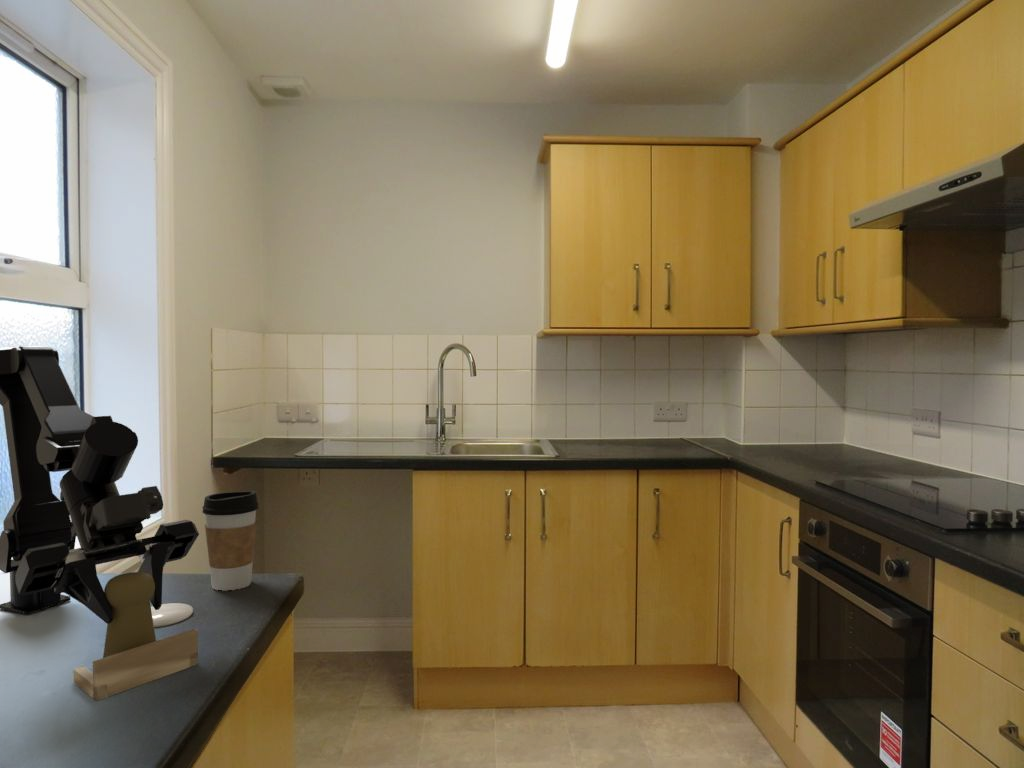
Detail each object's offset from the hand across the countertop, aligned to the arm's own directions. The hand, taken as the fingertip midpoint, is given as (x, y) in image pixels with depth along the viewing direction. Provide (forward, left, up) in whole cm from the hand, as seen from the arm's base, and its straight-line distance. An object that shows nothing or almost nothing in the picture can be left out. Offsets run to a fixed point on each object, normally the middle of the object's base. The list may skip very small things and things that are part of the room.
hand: (135, 614), depth 77 cm
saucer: (-12, +13, -7) cm, 19 cm away
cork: (-1, 0, -7) cm, 7 cm away
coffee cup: (-13, +27, -7) cm, 31 cm away
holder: (0, 0, -7) cm, 7 cm away
